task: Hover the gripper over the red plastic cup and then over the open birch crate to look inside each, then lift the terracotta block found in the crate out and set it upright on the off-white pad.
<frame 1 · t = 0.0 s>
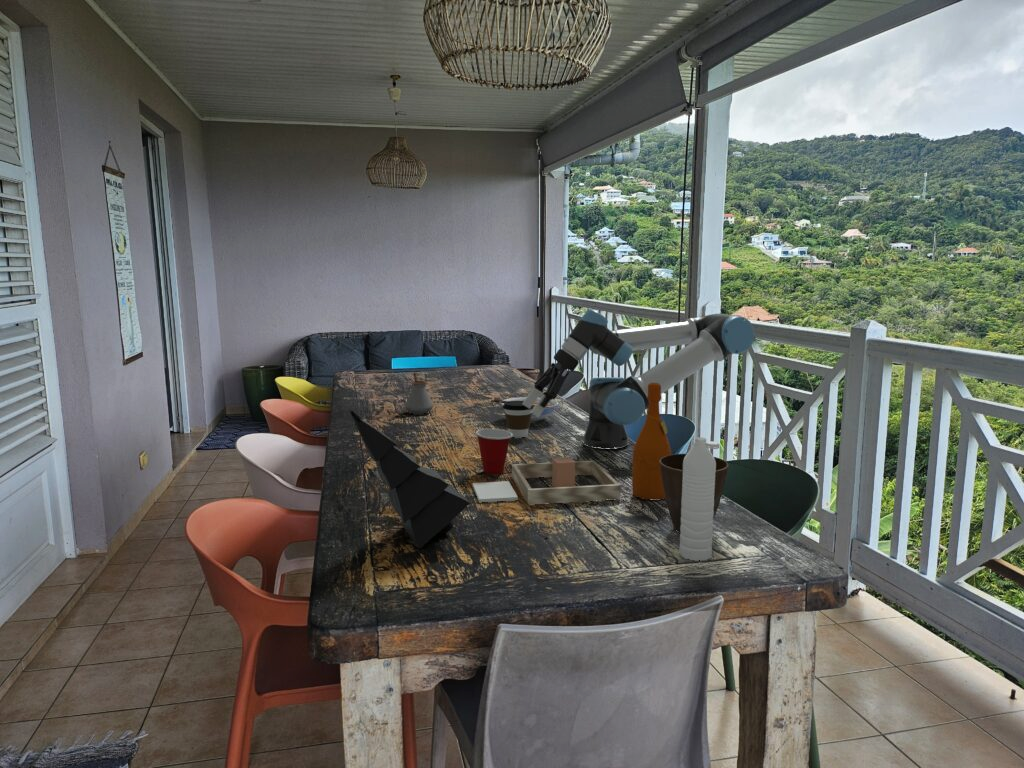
hand: (530, 410, 219), 15 cm above the table, tool tilted 35°, fingers open, 13 cm apart
coffee pot: (418, 410, 297), on the table
block: (563, 474, 191), in the crate
decorative tree: (410, 539, 156), on the table
ramen bowl: (529, 421, 277), on the table
pad: (494, 493, 187), on the table
crate: (563, 488, 191), on the table
plant pot: (690, 531, 161), on the table
plastic cup: (494, 472, 207), on the table
coffee cup: (518, 436, 251), on the table
wine bottle: (650, 496, 185), on the table
water bottle: (698, 558, 145), on the table
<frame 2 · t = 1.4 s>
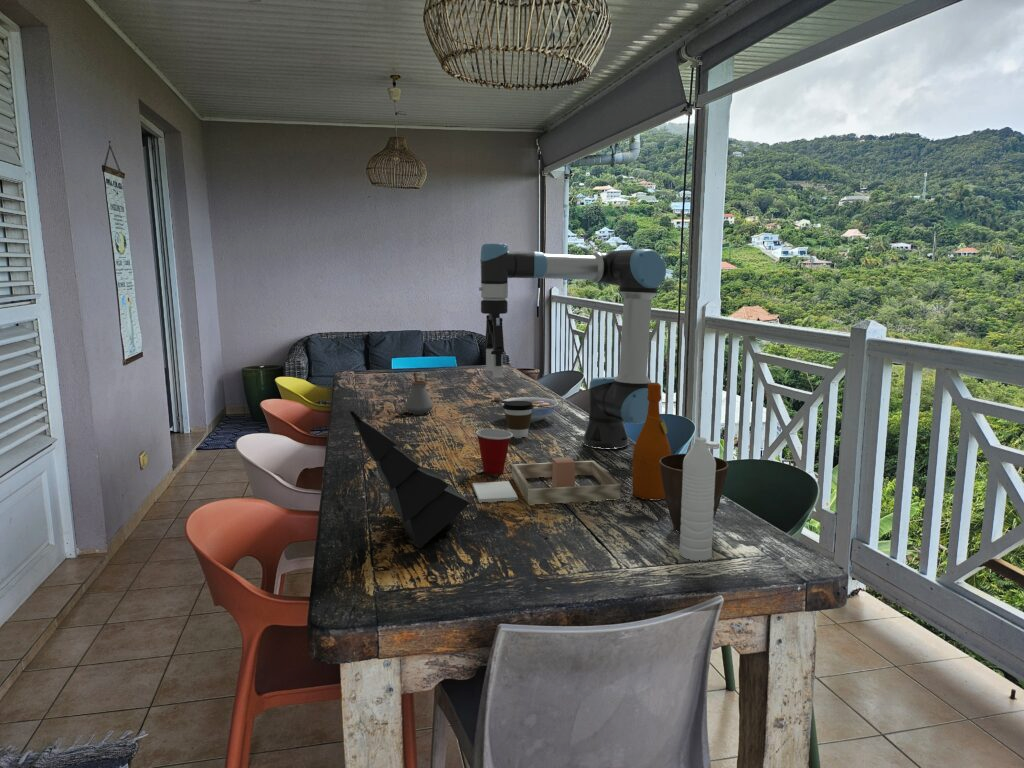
hand: (494, 374, 203), 29 cm above the table, tool pointing down, fingers open, 13 cm apart
nothing on the table moved.
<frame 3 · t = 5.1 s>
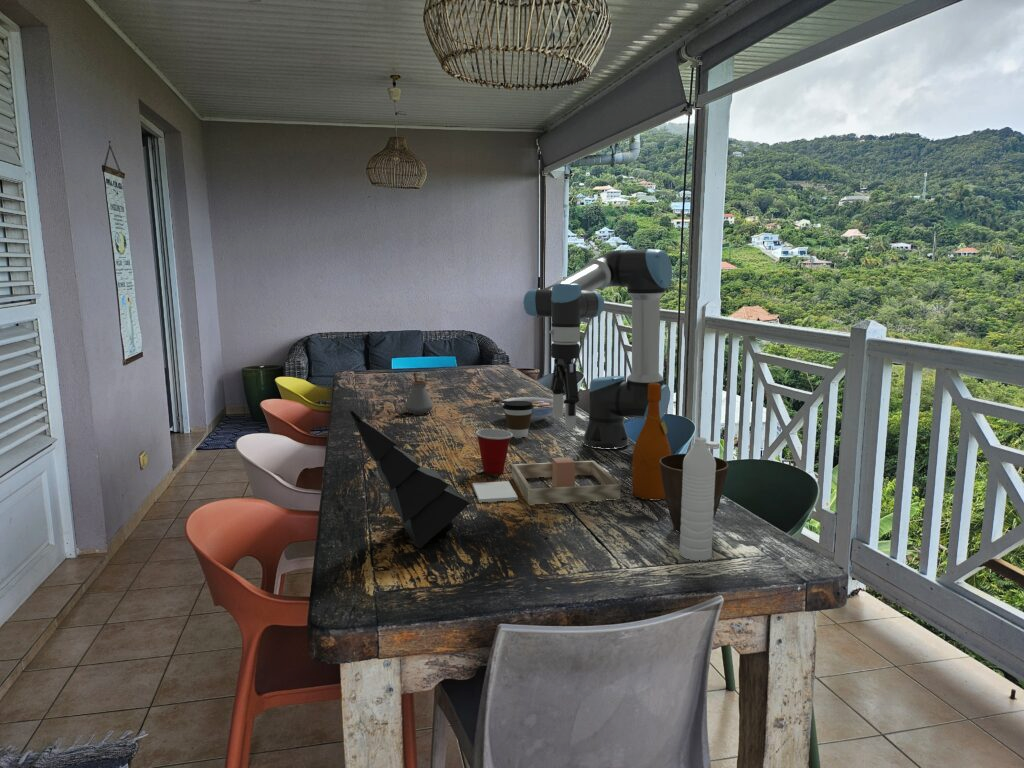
hand: (563, 422, 188), 18 cm above the table, tool pointing down, fingers open, 13 cm apart
nothing on the table moved.
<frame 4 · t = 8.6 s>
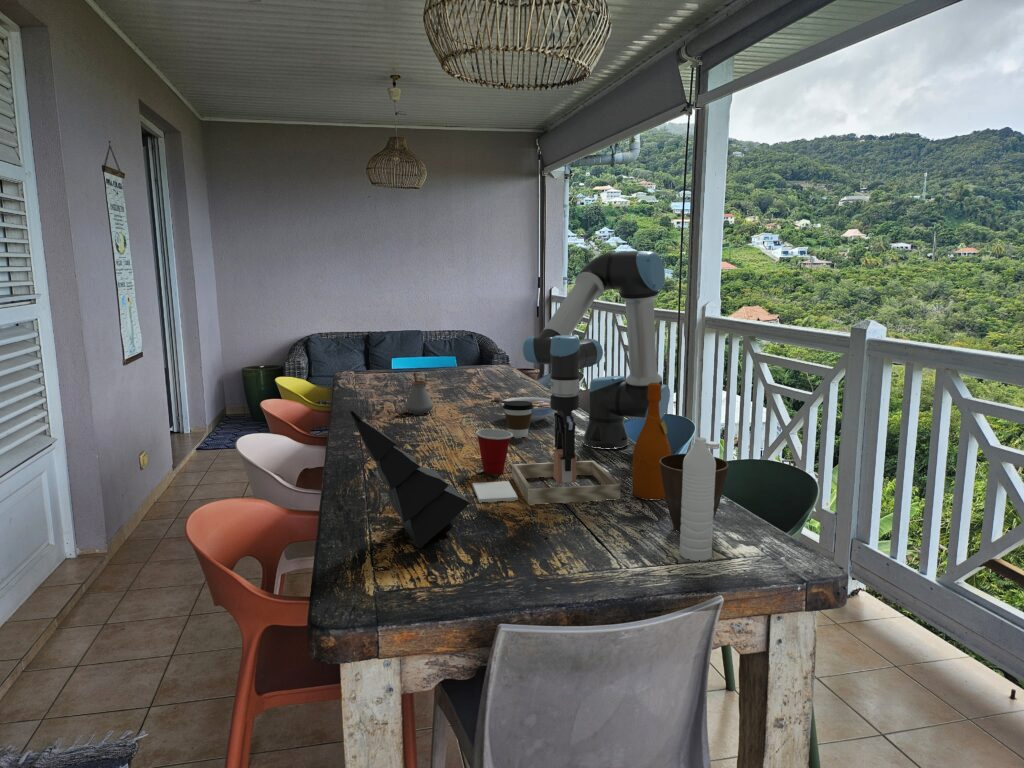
hand: (564, 478, 191), 3 cm above the table, tool pointing down, fingers closed on block, 5 cm apart
block: (564, 465, 191), point 6 cm above the table, touching gripper
everything else where it was.
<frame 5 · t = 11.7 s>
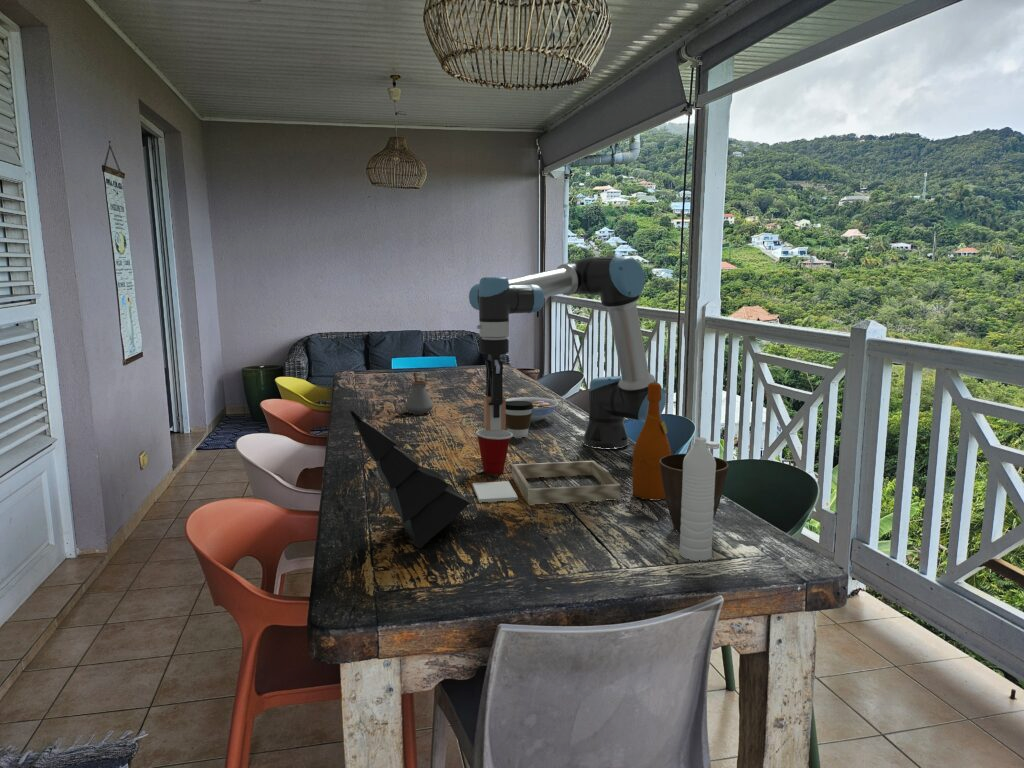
hand: (494, 427, 184), 18 cm above the table, tool pointing down, fingers closed on block, 5 cm apart
block: (494, 413, 184), point 22 cm above the table, touching gripper
everything else where it was.
when the fingers open (2 cm above the table, at t = 15.1 s): block stays where it is, resting on pad.
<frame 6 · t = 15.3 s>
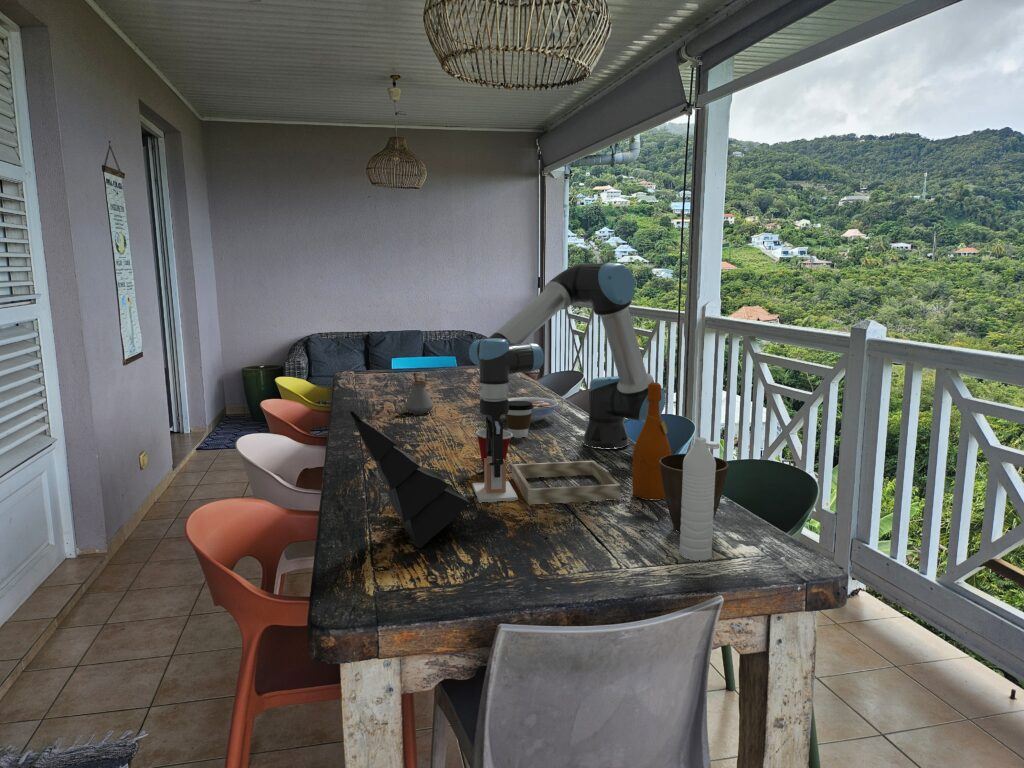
hand: (494, 484, 187), 3 cm above the table, tool pointing down, fingers open, 7 cm apart
block: (494, 475, 186), on the pad, point 5 cm above the table
everything else where it was.
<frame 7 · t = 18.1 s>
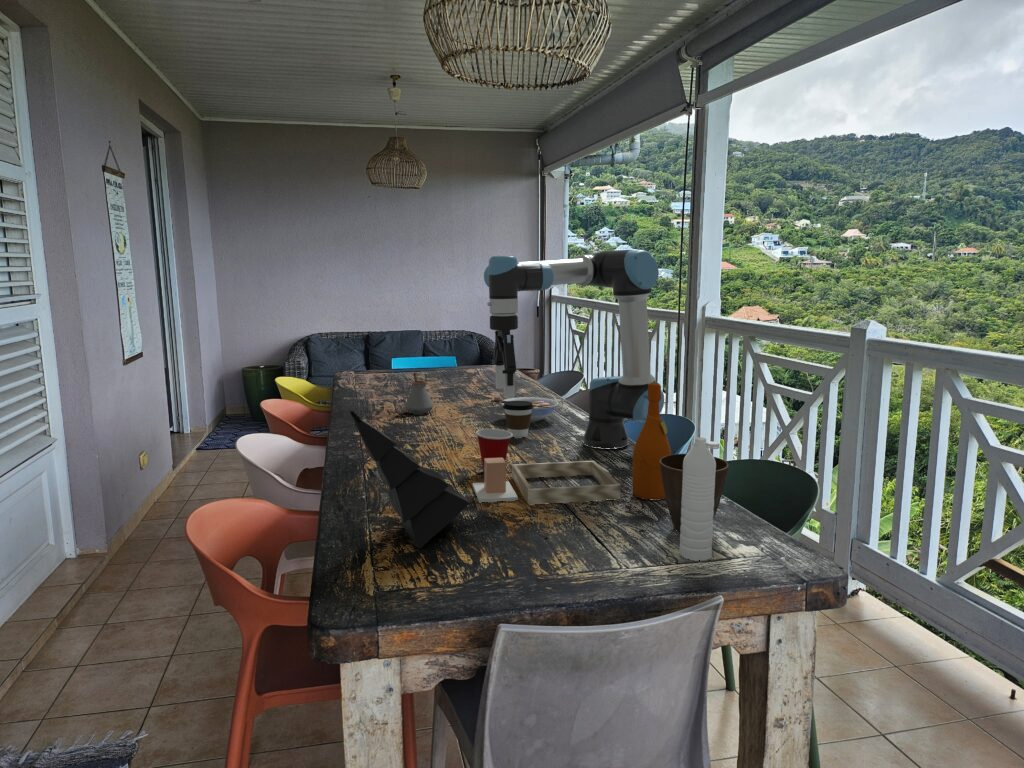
hand: (505, 393, 192), 25 cm above the table, tool pointing down, fingers open, 13 cm apart
nothing on the table moved.
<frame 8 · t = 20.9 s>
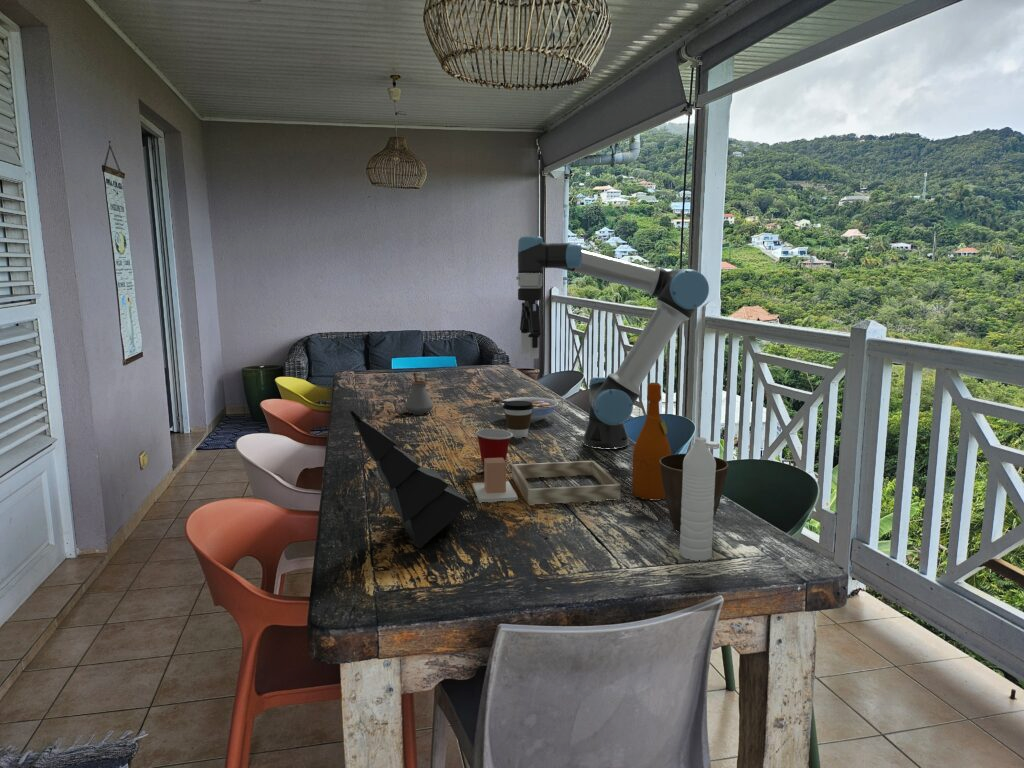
hand: (529, 355, 222), 32 cm above the table, tool pointing down, fingers open, 13 cm apart
nothing on the table moved.
at the end: block inside the target area on the pad (0.1 cm from its centre), point 5.0 cm above the pad's base; block tilted 0°; the gripper is holding nothing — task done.
